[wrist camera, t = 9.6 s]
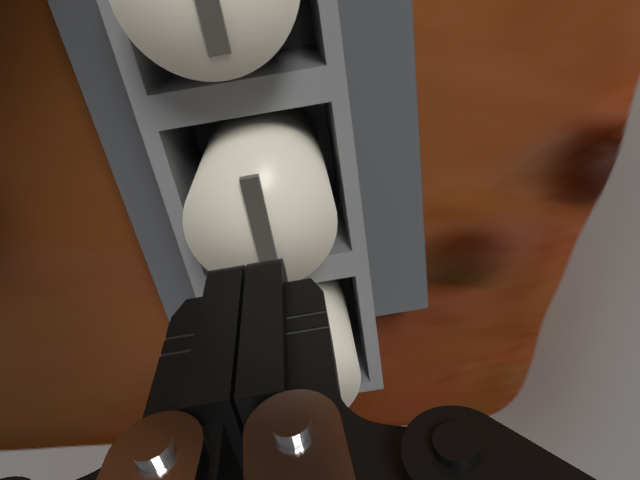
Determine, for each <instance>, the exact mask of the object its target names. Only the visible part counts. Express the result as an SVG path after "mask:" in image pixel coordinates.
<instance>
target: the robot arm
mask: <svg viewBox="0 0 640 480" xmlns="http://www.w3.org/2000/svg"><path fill="white" fill-rule="evenodd" d="M161 355H162V357H160V358H159V362H158V366H157V369H156V373H155V376H154V380H153V383H152V387H151V390H150V394H149V397H148V401H147V404H146V408H145V411H144V415H143V418H142V419H141V420H139V421H137V422H135V423H134V424H133V425H131V426H130V427H128V428H127V429H126V430H125V431H124V432H123V433H122V434H121V435H120V436H119V437H118V438H117V439H116V440H115V442H114V443H113V444H112V446H111V447H110V449H109V451H108V453H107V455H106V457H105V460H104V462H103V464H102V467H101V468H100V469H98V470H96V471H94V472H92V473H90V474H88V475H86V476H84V477H81V478H79V479H77V480H596V479H594V478H592V477H591V476H589V475H588V474H586V473H584V472H582V471H581V470H579V469H577V468H576V467H574V466H572V465H571V464H569V463H567V462H565V461H564V460H562V459H560V458H559V457H557V456H555V455H554V454H552V453H550V452H548V451H547V450H545V449H543V448H542V447H540V446H538V445H537V444H535V443H533V442H531V441H530V440H528V439H526V438H525V437H523V436H521V435H519V434H518V433H516V432H514V431H513V430H511V429H509V428H508V427H506V426H504V425H502V424H501V423H499V422H497V421H496V420H494V419H492V418H491V417H489V416H487V415H485V414H483V413H481V412H479V411H477V410H474V409H471V408H467V407H462V406H440V407H436V408H432V409H429V410H427V411H425V412H423V413H421V414H419V415H418V416H417V417H416V418H414V419H413V420H412V421H411V422H410V424H409V425H408V426H407V427H402V426H394V425H386V424H380V423H375V422H372V421H369V420H366V419H364V418H362V417H360V416H358V415H357V414H355V413H354V412H352V411H351V410H350V409H349V408H348V407H347V406H346V404H345V403H344V402H343V400H342V398H341V393H340V386H339V380H338V373H337V366H336V360H335V353H334V347H333V341H332V336H331V330H330V325H329V319H328V314H327V308H326V302H325V297H324V292H323V290H322V289H321V288H320V287H319V286H318V285H317V284H316V283H315V282H314V281H313V280H312V279H311V278H308V279H302V280H296V281H290V282H288V278H287V274H286V269H285V265H284V262H283V259H282V258H280V259H274V260H268V261H262V262H256V263H250V264H247V265H246V266H245V265H239V266H233V267H227V268H222V269H216V270H210V271H208V273H207V277H206V282H205V287H204V292H203V296H202V297H197V298H191V299H186V300H185V301H184V302H183V304H182V305H181V306H180V307H179V309H178V310H177V311H176V312H175V313H174V315H173V316H172V317H171V320H170V323H169V327H168V330H167V334H166V341H164V344H163V348H162V351H161ZM0 480H30V479H29V478H25V477H17V476H14V477H7V478H3V479H0Z"/></svg>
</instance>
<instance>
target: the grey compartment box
mask: <svg viewBox="0 0 640 480" xmlns="http://www.w3.org/2000/svg"><path fill="white" fill-rule="evenodd" d="M47 1H48V4H49V6H50V9H51V12H52V14H53V17H54V19H55V22H56V25H57V27H58V30H59V33H60V35H61V38H62V41H63V43H64V46H65V49H66V51H67V54H68V56H69V59H70V62H71V64H72V67H73V70H74V72H75V75H76V78H77V80H78V83H79V85H80V88H81V91H82V93H83V96H84V99H85V101H86V104H87V107H88V109H89V112H90V114H91V117H92V120H93V122H94V125H95V128H96V130H97V133H98V136H99V138H100V141H101V143H102V146H103V149H104V151H105V154H106V157H107V159H108V162H109V165H110V167H111V170H112V172H113V175H114V178H115V180H116V183H117V186H118V188H119V191H120V194H121V196H122V199H123V202H124V204H125V207H126V209H127V212H128V215H129V217H130V220H131V223H132V225H133V228H134V231H135V233H136V236H137V238H138V241H139V244H140V246H141V249H142V252H143V254H144V257H145V260H146V262H147V265H148V267H149V270H150V273H151V275H152V278H153V281H154V283H155V286H156V289H157V291H158V294H159V296H160V299H161V302H162V304H163V307H164V310H165V312H166V315H167V318H168V320H169V323H170V320H171V317H172V316H173V315H174V313H175V312H176V311H177V310H178V309H179V307H180V306H181V305H182V304H183V302H184V301H185V300H186V299H191V298H197V297H202V296H203V292H204V287H205V282H206V277H207V273H208V270H206V269H205V268H204V267H203V266H202V265H201V264H200V263H199V262H198V260H197V259H196V258H195V256H194V255H193V253H192V252H191V250H190V248H189V246H188V244H187V241H186V239H185V235H184V230H183V221H182V220H183V209H184V204H185V201H186V198H187V195H188V193H189V190H190V188H191V185H192V182H193V180H194V177H195V175H196V172H197V170H198V167H199V164H200V162H201V159H202V157H203V154H204V151H205V149H206V146H207V144H208V141H209V139H210V136H211V133H212V131H213V128H214V126H215V125H216V123H217V121H221V120H227V119H233V118H239V117H245V116H251V115H257V114H262V113H268V112H274V111H280V110H286V109H292V108H298V109H299V110H300V111H302V112H303V113H304V114H305V115H306V116H307V117H308V118H309V120H310V121H311V123H312V124H313V126H314V128H315V130H316V132H317V134H318V137H319V141H320V145H321V149H322V153H323V157H324V161H325V166H326V170H327V174H328V178H329V182H330V186H331V190H332V194H333V198H334V202H335V206H336V211H337V220H338V224H337V233H336V238H335V241H334V244H333V246H332V249H331V250H330V252H329V254H328V256H327V257H326V259H325V260H324V261H323V263H322V264H321V265H320V266H319V267H318V268H317V269H316V270H314V271H313V272H312V273H311V274H310V275H308V276H306V277H305V278H303V279H308V278H311V279H312V280H313V281H314V282H315V283H317V282H323V281H329V280H335V279H341V280H342V285H343V290H344V295H345V300H346V305H347V309H348V314H349V319H350V324H351V329H352V334H353V338H354V343H355V348H356V353H357V358H358V363H359V367H360V372H361V385H360V389H359V392H365V391H371V390H377V389H383V388H384V386H383V378H382V370H381V361H380V353H379V345H378V336H377V328H376V319H375V317H376V316H382V315H388V314H394V313H400V312H406V311H412V310H418V309H424V308H428V295H427V276H426V257H425V238H424V219H423V200H422V181H421V162H420V144H419V125H418V106H417V87H416V68H415V49H414V30H413V11H412V0H300V4H299V9H298V13H297V16H296V20H295V22H294V25H293V27H292V30H291V32H290V34H289V35H288V37H287V39H286V41H285V43H284V44H283V45H282V47H281V48H280V49H279V50H278V52H277V53H276V54H275V55H274V56H273V57H272V58H271V59H270V60H269V61H268V62H266V63H265V64H264V65H263V66H261V67H260V68H258V69H257V70H255V71H253V72H251V73H250V74H247V75H245V76H242V77H240V78H236V79H232V80H228V81H219V82H204V81H198V80H192V79H188V78H185V77H181V76H179V75H176V74H174V73H172V72H169V71H167V70H166V69H164V68H162V67H161V66H159V65H157V64H156V63H155V62H153V61H152V60H151V59H149V58H148V57H147V56H145V55H144V54H143V53H142V52H141V51H140V50H139V49H138V48H137V47H136V46H135V45H134V43H133V42H132V41H131V40H130V39H129V38H128V36H127V35H126V33H125V32H124V30H123V29H122V27H121V26H120V24H119V22H118V21H117V19H116V17H115V15H114V13H113V11H112V8H111V6H110V3H109V0H47ZM359 392H358V393H359Z"/></svg>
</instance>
